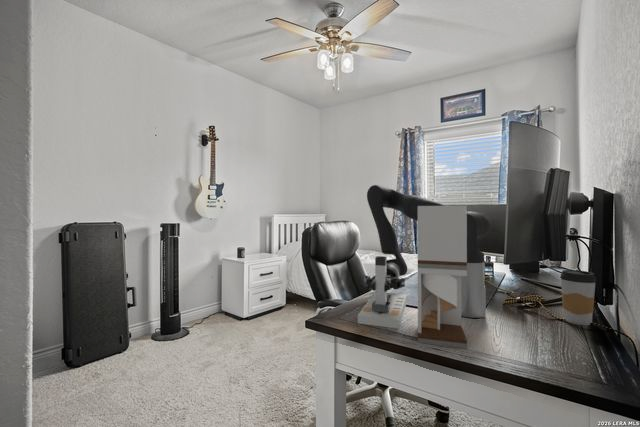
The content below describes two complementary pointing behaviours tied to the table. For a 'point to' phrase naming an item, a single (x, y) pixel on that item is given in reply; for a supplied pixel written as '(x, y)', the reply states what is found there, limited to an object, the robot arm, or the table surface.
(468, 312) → the robot arm
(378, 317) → the console
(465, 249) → the display case
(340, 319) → the table surface
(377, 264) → the fader
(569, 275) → the coffee cup
